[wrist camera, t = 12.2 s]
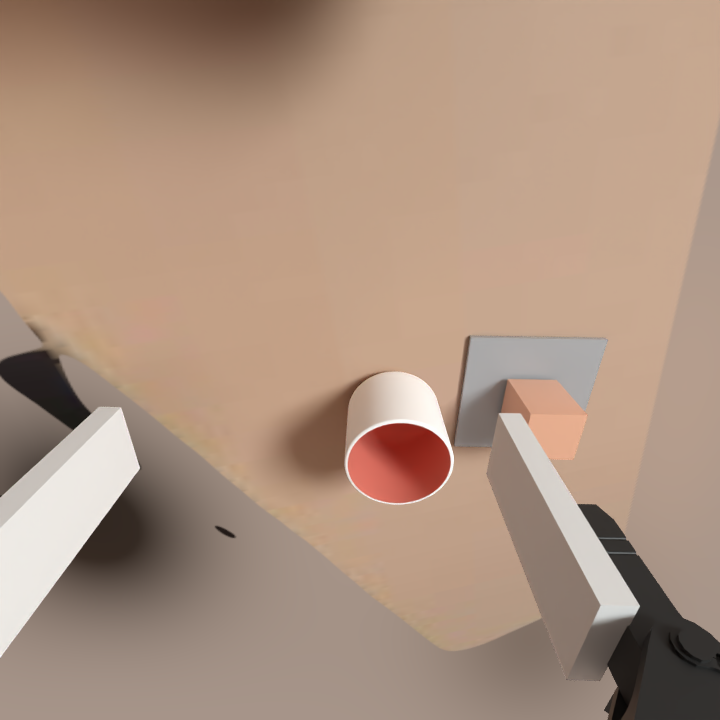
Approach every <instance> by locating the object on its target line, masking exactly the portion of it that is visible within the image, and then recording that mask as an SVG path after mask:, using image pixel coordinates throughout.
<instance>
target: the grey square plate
mask: <svg viewBox="0 0 720 720" xmlns="http://www.w3.org/2000/svg"><path fill="white" fill-rule="evenodd" d="M607 341H608V340H607V339H606V338H580V337H519V336H470V339H469V346H468V352H467V359H466V366H465V373H464V379H463V386H462V393H461V400H460V406H459V413H458V420H457V426H456V433H455V440H454V445H455V446H467V447H492V443H493V438H494V433H495V428H496V423H497V418H498V413H501V409H502V405H503V400H504V395H505V390H506V385H507V380H508V379H538V380H557V381H558V382H559V383H560V384H561V385H562V386H563V388H564V389H565V390H566V391H567V392H568V393H569V394H570V395H571V397H572V398H573V399H574V400H575V401H576V402H577V403H578V405H579V406H580V407H581V408H582V409H583V410H584V411H585V410H586V407H587V404H588V401H589V397H590V394H591V391H592V388H593V385H594V382H595V379H596V376H597V372H598V369H599V366H600V363H601V360H602V357H603V354H604V350H605V347H606V344H607Z"/></svg>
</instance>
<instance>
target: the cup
mask: <svg viewBox="0 0 720 720" xmlns="http://www.w3.org/2000/svg"><path fill="white" fill-rule="evenodd" d="M453 464H454V456H453V451H452V448H451V444H450V441H449V438H448V435H447V431H446V428H445V425H444V421H443V418H442V415H441V411H440V408H439V405H438V402H437V399H436V396H435V394H434V392H433V391H432V389H431V388H430V387H429V386H428V385H427V384H426V383H425V382H424V381H423V380H421V379H420V378H418V377H416V376H414V375H412V374H408V373H405V372H397V371H391V372H384V373H380V374H377V375H374V376H372V377H370V378H368V379H367V380H365V381H364V382H363V383H361V384H360V385H359V386H358V387H357V389H356V390H355V391H354V393H353V395H352V397H351V399H350V402H349V406H348V417H347V432H346V446H345V460H344V466H345V471H346V475H347V477H348V479H349V481H350V482H351V484H352V485H353V486H354V488H355V489H356V490H357V491H359V492H360V493H361V494H363V495H364V496H366V497H368V498H370V499H372V500H374V501H377V502H381V503H385V504H395V505H398V504H409V503H414V502H418V501H421V500H423V499H425V498H428V497H430V496H431V495H433V494H434V493H436V492H437V491H438V490H439V489H441V488H442V487H443V485H444V484H445V483H446V482H447V480H448V479H449V477H450V475H451V472H452V469H453Z"/></svg>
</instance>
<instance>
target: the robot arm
mask: <svg viewBox="0 0 720 720" xmlns="http://www.w3.org/2000/svg"><path fill="white" fill-rule="evenodd" d="M139 469H140V467H139V464H138V460H137V457H136V454H135V451H134V448H133V445H132V441H131V438H130V435H129V431H128V428H127V425H126V422H125V418H124V415H123V412H122V409H121V407H98V408H97V410H95V411H94V412H93V413H92V414H91V415H90V416H89V417H88V418H86V419H85V420H84V421H83V422H82V423H81V424H80V425H79V426H78V427H77V428H76V429H74V430H73V431H72V432H71V433H70V434H69V435H68V436H67V437H66V438H65V439H64V440H62V442H60V443H59V444H58V445H57V446H56V447H55V448H54V449H53V450H52V451H51V452H49V453H48V454H47V455H46V456H45V457H44V458H43V459H42V460H41V461H40V462H39V463H37V464H36V465H35V466H34V467H33V468H32V469H31V470H30V471H29V472H28V473H26V474H25V475H24V476H23V477H22V478H21V479H20V480H19V481H18V482H17V483H16V484H15V485H13V486H12V487H11V488H10V489H9V490H8V491H7V492H6V493H5V494H4V495H3V496H0V657H1V656H2V655H3V653H4V652H5V650H6V649H7V648H8V646H9V645H10V644H11V642H12V641H13V639H14V638H15V637H16V636H17V634H18V633H19V632H20V630H21V629H22V627H23V626H24V625H25V623H26V622H27V620H28V619H29V618H30V617H31V615H32V614H33V613H34V611H35V610H36V608H37V607H38V606H39V604H40V603H41V602H42V600H43V599H44V598H45V596H46V595H47V594H48V592H49V591H50V589H51V588H52V587H53V585H54V584H55V583H56V581H57V580H58V579H59V577H60V576H61V575H62V573H63V572H64V571H65V569H66V568H67V566H68V565H69V564H70V562H71V561H72V560H73V558H74V557H75V556H76V554H77V553H78V552H79V550H80V549H81V547H82V546H83V545H84V543H85V542H86V541H87V539H88V538H89V537H90V535H91V534H92V532H93V531H94V530H95V529H96V527H97V526H98V524H99V523H100V522H101V520H102V519H103V518H104V516H105V515H106V513H107V512H108V511H109V510H110V508H111V507H112V505H113V504H114V503H115V501H116V500H117V499H118V497H119V496H120V495H121V493H122V492H123V490H124V489H125V488H126V486H127V485H128V484H129V482H130V481H131V480H132V478H133V477H134V476H135V474H136V473H137V472H138V470H139ZM486 474H487V477H488V479H489V482H490V485H491V487H492V490H493V492H494V495H495V497H496V500H497V503H498V505H499V508H500V510H501V513H502V516H503V518H504V521H505V523H506V526H507V528H508V531H509V534H510V536H511V539H512V541H513V544H514V546H515V549H516V552H517V554H518V557H519V559H520V562H521V564H522V567H523V570H524V572H525V575H526V577H527V580H528V582H529V585H530V588H531V590H532V593H533V595H534V598H535V601H536V603H537V606H538V608H539V611H540V613H541V616H542V619H543V621H544V624H545V626H546V629H547V631H548V634H549V636H550V639H551V641H552V644H553V647H554V649H555V652H556V655H557V657H558V660H559V662H560V665H561V667H562V670H563V673H564V675H565V678H566V680H585V681H586V680H587V681H600V680H601V678H602V676H603V675H604V673H605V671H606V669H607V667H609V669H610V671H611V673H612V676H613V678H614V680H615V682H616V684H617V686H618V687H617V689H616V690H615V692H614V694H613V695H612V697H611V699H610V701H609V703H608V704H607V706H606V708H605V709H604V711H606V712H607V713H609V716H608V720H720V643H719V642H718V641H717V640H716V639H715V638H714V637H713V636H712V635H711V634H710V633H708V632H707V631H706V630H704V629H702V628H701V627H700V626H698V625H697V624H695V623H693V622H691V621H688V620H686V619H684V618H682V616H681V615H680V614H679V613H678V611H677V610H676V608H675V607H674V606H673V604H672V603H671V601H670V600H669V598H668V597H667V596H666V594H665V593H664V591H663V590H662V588H661V587H660V585H659V584H658V583H657V581H656V580H655V578H654V577H653V575H652V574H651V573H650V571H649V570H648V568H647V567H646V565H645V564H644V562H643V561H642V560H641V558H640V557H639V556H637V555H636V551H635V550H634V548H633V547H632V545H631V544H630V542H629V541H627V540H626V537H625V535H624V534H623V532H622V531H621V529H620V528H619V526H618V525H617V524H616V522H615V521H614V519H612V518H611V517H610V516H609V515H608V514H606V513H605V512H604V511H603V510H602V509H601V508H599V507H598V506H597V505H592V504H577V503H576V502H575V500H574V499H573V497H572V495H571V494H570V492H569V490H568V489H567V487H566V486H565V484H564V482H563V481H562V479H561V478H560V476H559V474H558V473H557V471H556V469H555V468H554V466H553V465H552V463H551V461H550V460H549V458H548V457H547V455H546V453H545V452H544V450H543V448H542V447H541V445H540V444H539V442H538V440H537V439H536V437H535V436H534V434H533V432H532V431H531V429H530V427H529V426H528V424H527V423H526V421H525V419H524V418H523V416H522V415H521V413H498V418H497V423H496V428H495V433H494V438H493V443H492V448H491V453H490V458H489V463H488V468H487V473H486Z"/></svg>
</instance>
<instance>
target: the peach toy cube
mask: <svg viewBox="0 0 720 720" xmlns="http://www.w3.org/2000/svg"><path fill="white" fill-rule="evenodd" d="M501 413H521V415H522V416H523V418H524V419H525V421H526V423H527V424H528V426H529V427H530V429H531V431H532V432H533V434H534V436H535V437H536V439H537V440H538V442H539V444H540V445H541V447H542V448H543V450H544V452H545V453H546V455H547V457H548V458H549V459H566V460H574V456H575V453H576V450H577V447H578V444H579V441H580V438H581V435H582V432H583V429H584V426H585V423H586V420H587V416H588V415H587V414H586V412H585V411H584V410H583V409H582V408H581V407H580V406H579V405H578V403H577V402H576V401H575V400H574V399H573V398H572V397H571V395H570V394H569V393H568V392H567V391H566V390H565V389H564V388H563V386H562V385H561V384H560V383H559V382H558V381H557V380H538V379H508V380H507V385H506V390H505V395H504V400H503V405H502V409H501Z"/></svg>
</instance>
